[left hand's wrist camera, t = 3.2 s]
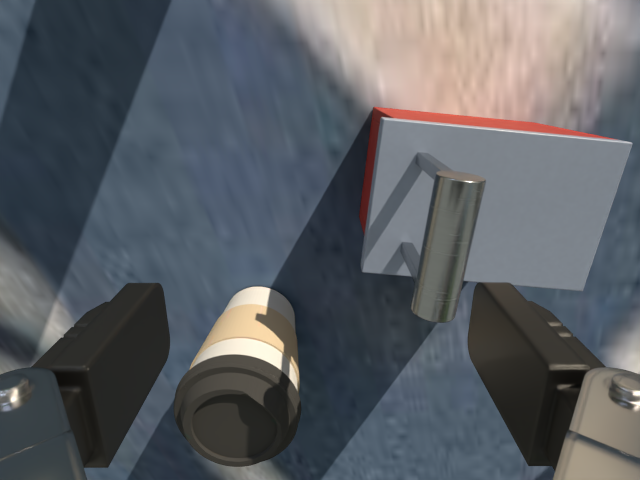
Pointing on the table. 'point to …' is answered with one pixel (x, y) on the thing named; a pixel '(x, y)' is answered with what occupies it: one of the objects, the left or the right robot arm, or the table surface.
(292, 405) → the coffee cup
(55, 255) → the table surface
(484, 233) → the lid
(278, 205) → the table surface
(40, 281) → the table surface
